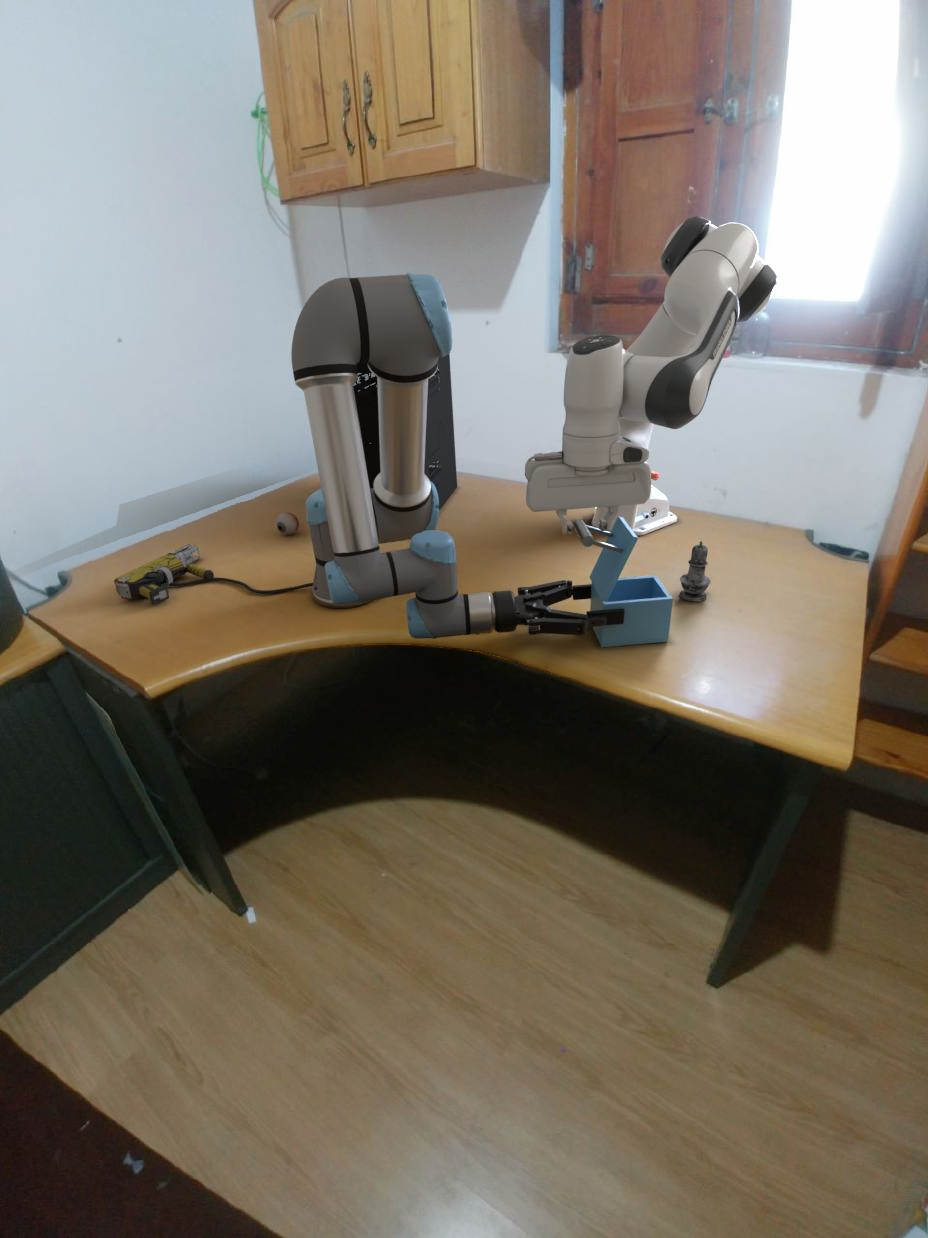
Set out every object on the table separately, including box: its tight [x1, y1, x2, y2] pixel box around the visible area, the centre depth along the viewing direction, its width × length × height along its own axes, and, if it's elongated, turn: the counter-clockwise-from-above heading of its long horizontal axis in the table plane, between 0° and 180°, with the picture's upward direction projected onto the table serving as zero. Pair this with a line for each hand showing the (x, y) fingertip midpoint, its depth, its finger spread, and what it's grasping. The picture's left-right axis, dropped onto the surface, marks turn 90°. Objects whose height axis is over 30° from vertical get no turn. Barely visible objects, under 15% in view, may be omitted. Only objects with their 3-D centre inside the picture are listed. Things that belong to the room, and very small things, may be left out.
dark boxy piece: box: [353, 353, 458, 512], centre depth 169 cm, size 38×20×45 cm, turn 167°
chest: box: [589, 574, 674, 648], centre depth 111 cm, size 12×9×9 cm
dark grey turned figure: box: [678, 540, 712, 603], centre depth 120 cm, size 6×6×12 cm
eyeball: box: [275, 511, 300, 536], centre depth 163 cm, size 6×6×6 cm
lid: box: [572, 516, 639, 602], centre depth 104 cm, size 12×9×8 cm
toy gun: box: [113, 543, 215, 606], centre depth 141 cm, size 5×24×15 cm
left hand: (614, 602), depth 110 cm, fingers closed on chest, 9 cm apart
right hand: (585, 531), depth 102 cm, fingers open, 5 cm apart
